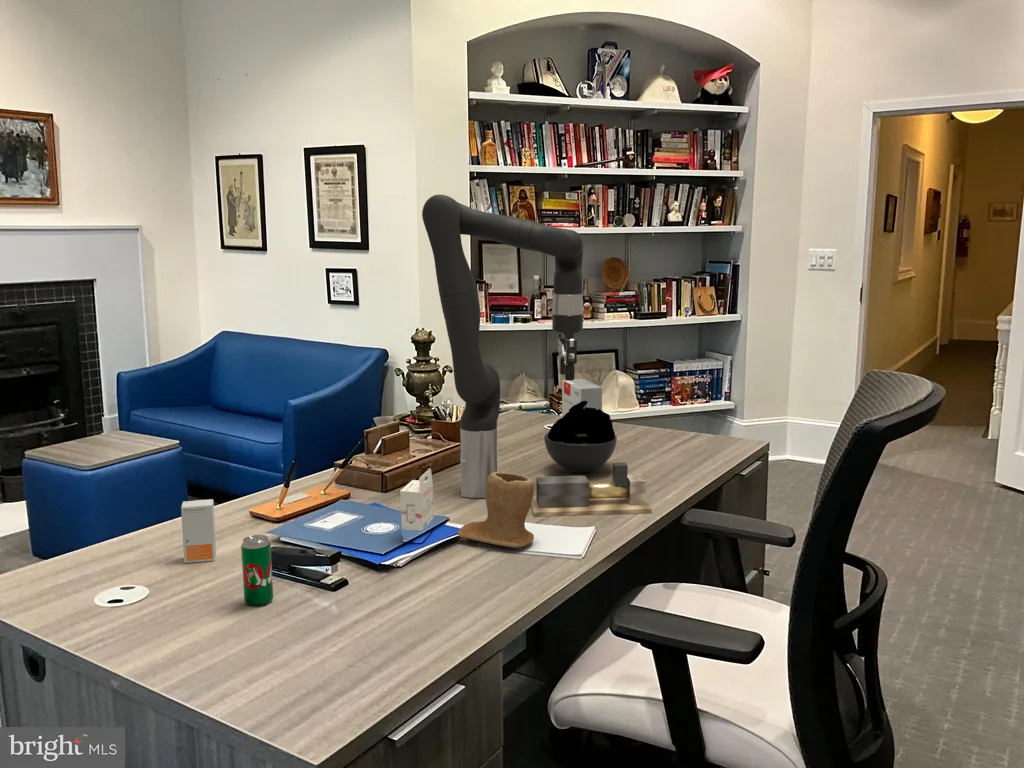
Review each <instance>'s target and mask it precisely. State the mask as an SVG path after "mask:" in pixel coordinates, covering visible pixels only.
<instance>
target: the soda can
mask: <svg viewBox="0 0 1024 768" xmlns="http://www.w3.org/2000/svg"><path fill="white" fill-rule="evenodd" d="M271 546H272V545H271V542H270V540H269V537H268V536H267V535H265V534H252V535H248V536H246V537H244V538H243V539H242V543H241V545H240V552H241V554H240V555H241V567H242V585H243V600H244V602H245V603H246V605H248V606H251V607H262V606H265V605H268V604H269V603H271V602H272V600H273V599H274V585H273V584H274V583H273V566H272V565H273V564H272V548H271Z"/></svg>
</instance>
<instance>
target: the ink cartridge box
mask: <svg viewBox="0 0 1024 768" xmlns="http://www.w3.org/2000/svg"><path fill="white" fill-rule="evenodd" d="M426 478H427V479H426ZM425 479H426V480H425ZM433 488H434V485H433V473H432V469H431V467H430V468H429V469H428V470H426V471H425V472H424V473H423V474H422V475H421V476H420V477H419V479H418V480H416V479H412V480H411V481H409V482H408V483H407V484H406V485H405V486H404V487H402V489H400V491H399V493H400V494H399V495H400V496H399V497H400V516H401V517H400V519H401V530H402V529H406V530H419V531H420V530H423V529H424V528H425V527H426V526H427V525H428V524H429V523H430V521H431V520H432V519H433V520H434V494H433V493H434V489H433Z"/></svg>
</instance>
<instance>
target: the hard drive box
mask: <svg viewBox="0 0 1024 768" xmlns="http://www.w3.org/2000/svg"><path fill="white" fill-rule="evenodd" d="M582 401H587V402H588V403H587V405H586V406H585V407H587V408H596V410H598V409H600V410H602V411H603V387H602V386H599V385H598V384H595V383H593V382H591V381H589V380H588V379H584V378H574V380H572V381H567V380H566V379H562V380H561V418H563V416H564V415H565V414H566V413H568V412H569V409H570V408H571V407H572V406H573V405H576V404H578V403H580V402H582ZM585 407H584V408H585Z"/></svg>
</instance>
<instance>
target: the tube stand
mask: <svg viewBox="0 0 1024 768" xmlns="http://www.w3.org/2000/svg"><path fill="white" fill-rule="evenodd" d="M535 479H536V481H535V482H536V488H535V490H536V494H535V496H533V499H532V503H531V506H530V509H531V510H532V513H533V517H534V518H535V517H562V516H563V517H564V516H565V517H566V516H597V515H598V516H600V515H625V514H626V515H629V514H631V515H633V513H637V514H652V507H651V506H650V505H649V504H648V503H647V480H646V479H645V477H643V475H642V474H640V473H635V474H633V473H632V474H631V473H630V474H629V473H627V482H629V483H630V498H601V499H589V483H590V481H589V479H588V478H587V476H586V475H559V476H558V475H557V476H556V475H555V476H554V475H552V476H550V475H549V476H536V478H535Z"/></svg>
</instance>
